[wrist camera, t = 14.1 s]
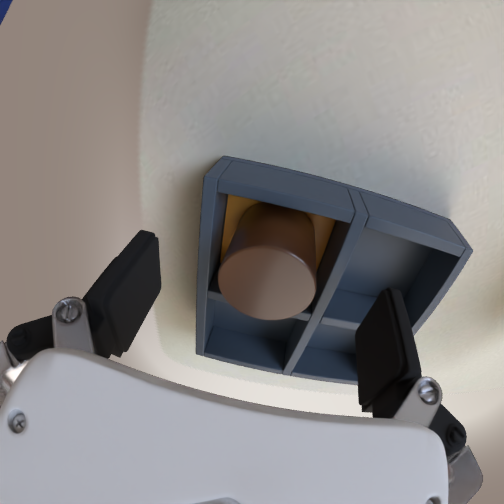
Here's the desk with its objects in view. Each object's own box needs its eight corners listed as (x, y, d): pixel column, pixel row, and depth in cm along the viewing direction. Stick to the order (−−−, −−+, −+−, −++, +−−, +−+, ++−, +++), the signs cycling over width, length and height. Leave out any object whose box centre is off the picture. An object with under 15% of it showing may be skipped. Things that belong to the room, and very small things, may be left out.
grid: (206, 322, 21) (195, 354, 18) (223, 155, 13) (203, 176, 11) (364, 354, 20) (366, 386, 18) (450, 219, 12) (473, 250, 10)
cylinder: (222, 230, 15) (198, 279, 11) (278, 183, 13) (268, 226, 9) (273, 277, 16) (263, 332, 13) (330, 240, 14) (335, 295, 11)
